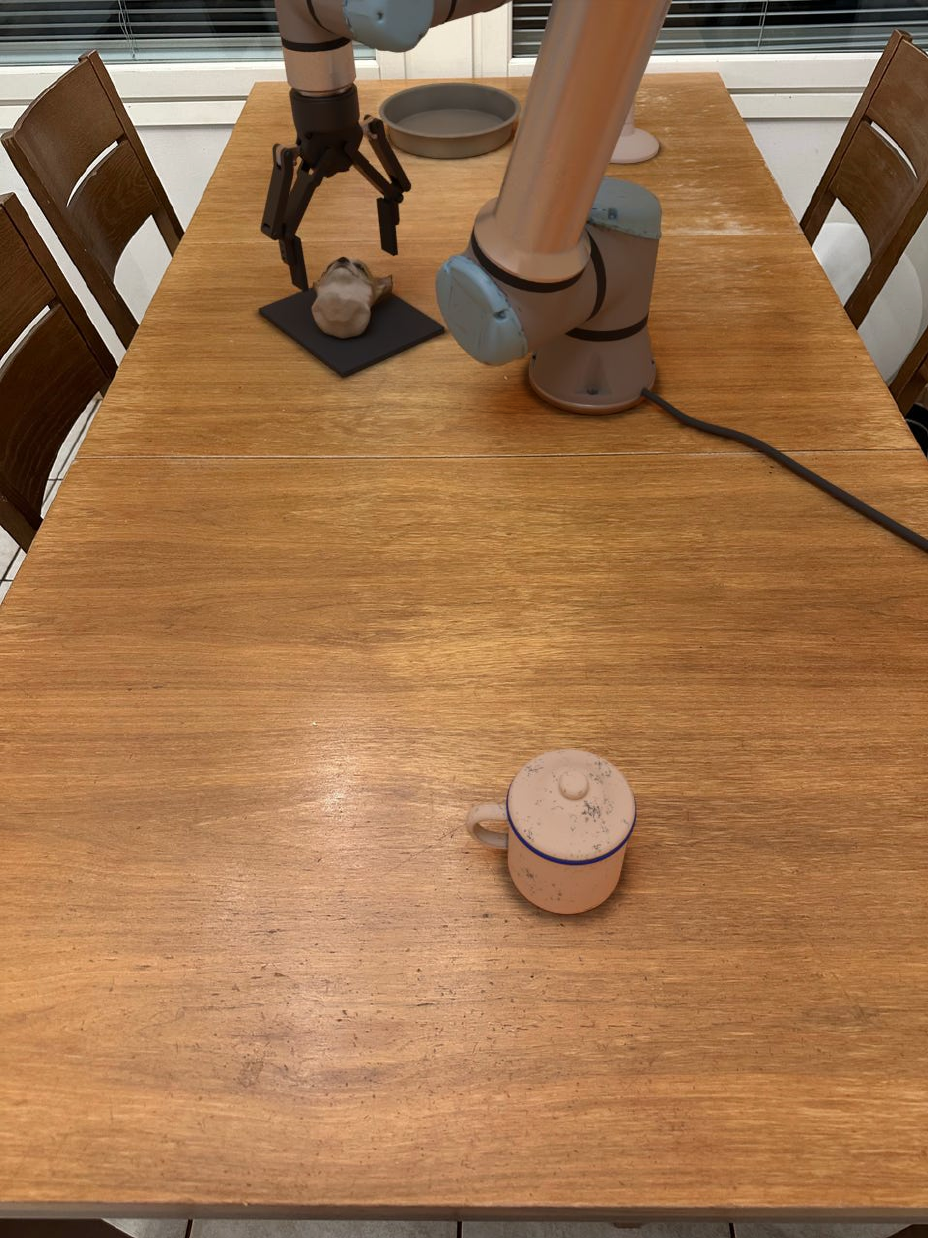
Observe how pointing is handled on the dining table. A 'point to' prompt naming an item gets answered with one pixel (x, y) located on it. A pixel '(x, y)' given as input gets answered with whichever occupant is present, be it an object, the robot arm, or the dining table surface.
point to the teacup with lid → (562, 829)
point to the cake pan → (450, 119)
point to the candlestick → (634, 143)
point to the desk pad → (382, 338)
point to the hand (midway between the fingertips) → (346, 269)
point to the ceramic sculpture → (347, 297)
